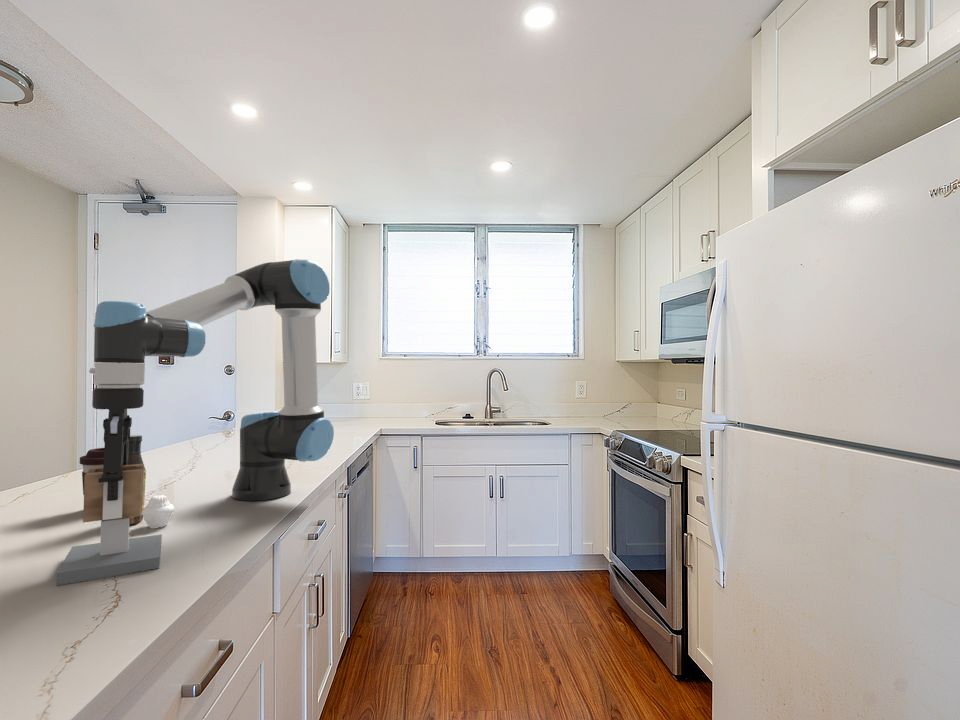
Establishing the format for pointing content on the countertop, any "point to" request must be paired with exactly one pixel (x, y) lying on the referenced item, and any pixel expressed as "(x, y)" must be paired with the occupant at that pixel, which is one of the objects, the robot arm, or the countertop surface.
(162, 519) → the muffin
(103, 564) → the shaft stand
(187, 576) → the countertop surface
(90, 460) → the coffee cup
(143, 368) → the robot arm
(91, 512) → the brown hollow block
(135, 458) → the sauce bottle
